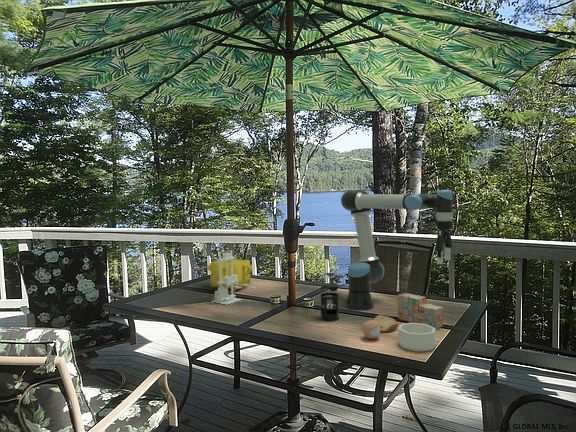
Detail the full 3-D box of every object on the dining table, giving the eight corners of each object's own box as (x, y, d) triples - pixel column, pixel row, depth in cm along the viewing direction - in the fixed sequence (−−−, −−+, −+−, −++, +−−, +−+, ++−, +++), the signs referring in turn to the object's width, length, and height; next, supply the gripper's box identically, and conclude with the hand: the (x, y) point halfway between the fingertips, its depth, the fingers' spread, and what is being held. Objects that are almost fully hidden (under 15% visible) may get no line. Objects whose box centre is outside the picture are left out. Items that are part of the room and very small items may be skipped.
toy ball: (376, 342, 177) (376, 324, 176) (359, 339, 181) (359, 321, 180) (383, 337, 183) (383, 319, 183) (366, 334, 188) (366, 316, 187)
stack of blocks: (443, 326, 196) (443, 300, 195) (435, 329, 192) (435, 303, 191) (405, 316, 213) (405, 292, 212) (397, 318, 209) (397, 294, 209)
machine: (211, 302, 246) (210, 251, 244) (226, 298, 256) (225, 249, 254) (249, 310, 230) (248, 255, 228) (263, 304, 240) (262, 252, 238)
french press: (332, 322, 204) (331, 276, 203) (316, 319, 210) (315, 274, 209) (344, 316, 214) (343, 272, 213) (328, 313, 220) (327, 270, 218)
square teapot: (263, 285, 289) (263, 254, 288) (241, 295, 262) (240, 261, 260) (220, 281, 303) (219, 252, 302) (195, 291, 276) (194, 259, 275)
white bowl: (396, 348, 170) (396, 331, 169) (402, 337, 183) (402, 321, 182) (432, 353, 164) (432, 336, 164) (436, 341, 177) (436, 325, 176)
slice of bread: (382, 318, 211) (382, 310, 211) (410, 327, 196) (410, 319, 196) (355, 324, 202) (355, 317, 202) (382, 335, 187) (382, 327, 186)
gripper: (444, 222, 201) (444, 266, 203) (458, 219, 221) (457, 259, 223) (428, 222, 206) (428, 264, 207) (443, 218, 226) (443, 257, 227)
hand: (443, 262), depth 215 cm, fingers open, 13 cm apart
